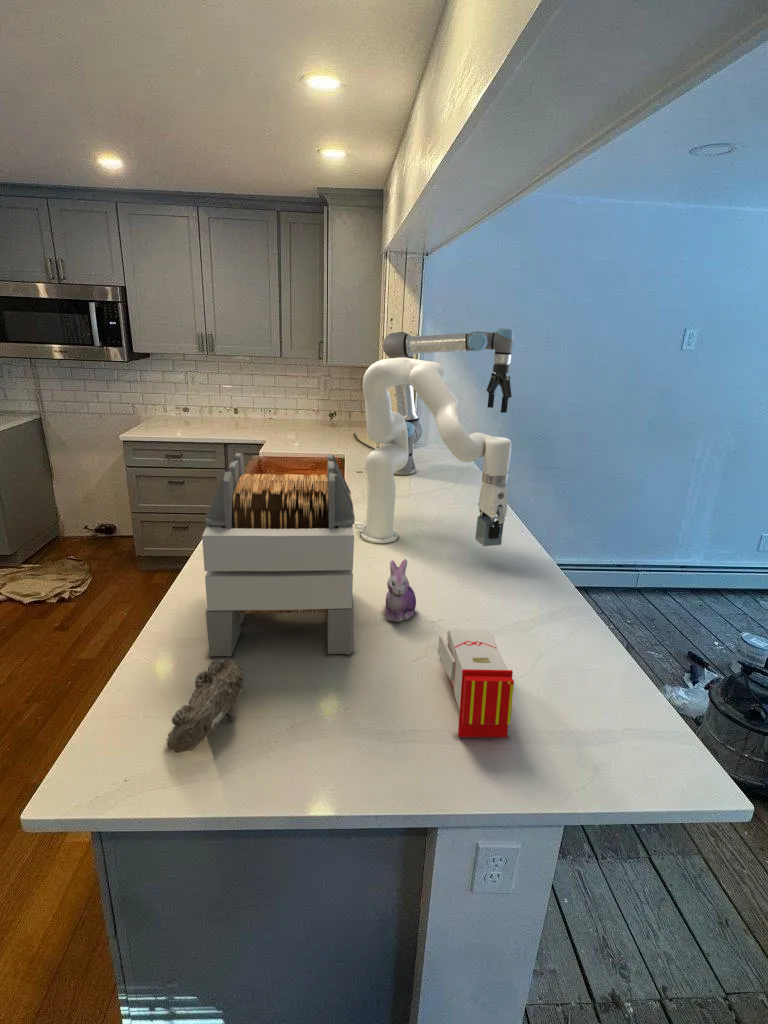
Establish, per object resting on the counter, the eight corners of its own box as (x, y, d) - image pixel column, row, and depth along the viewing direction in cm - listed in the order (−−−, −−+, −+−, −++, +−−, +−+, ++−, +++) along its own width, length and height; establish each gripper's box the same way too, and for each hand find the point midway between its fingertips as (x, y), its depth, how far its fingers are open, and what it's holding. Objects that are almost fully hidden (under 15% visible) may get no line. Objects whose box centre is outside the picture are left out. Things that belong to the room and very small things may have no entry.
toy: (488, 613, 130) (523, 677, 101) (484, 667, 133) (517, 744, 104) (435, 612, 130) (455, 676, 101) (432, 666, 133) (451, 743, 103)
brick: (501, 544, 175) (503, 521, 173) (483, 546, 174) (486, 522, 171) (492, 537, 181) (494, 515, 178) (475, 539, 179) (477, 516, 176)
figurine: (392, 627, 141) (395, 572, 136) (374, 608, 149) (376, 556, 144) (425, 619, 145) (429, 566, 140) (405, 601, 154) (408, 550, 149)
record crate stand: (228, 587, 157) (220, 443, 143) (347, 586, 161) (350, 445, 147) (206, 659, 125) (193, 482, 111) (354, 655, 129) (359, 484, 115)
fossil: (192, 660, 117) (244, 628, 112) (224, 691, 120) (276, 661, 115) (142, 746, 98) (202, 712, 93) (182, 779, 101) (242, 748, 96)
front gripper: (520, 486, 163) (513, 544, 170) (492, 470, 179) (486, 523, 185) (497, 487, 161) (490, 546, 167) (470, 471, 177) (465, 525, 183)
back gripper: (522, 366, 250) (517, 414, 257) (496, 361, 272) (491, 405, 280) (507, 366, 248) (502, 414, 255) (482, 360, 270) (478, 405, 278)
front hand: (488, 533), depth 176 cm, fingers closed on brick, 5 cm apart
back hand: (496, 410), depth 267 cm, fingers open, 13 cm apart
